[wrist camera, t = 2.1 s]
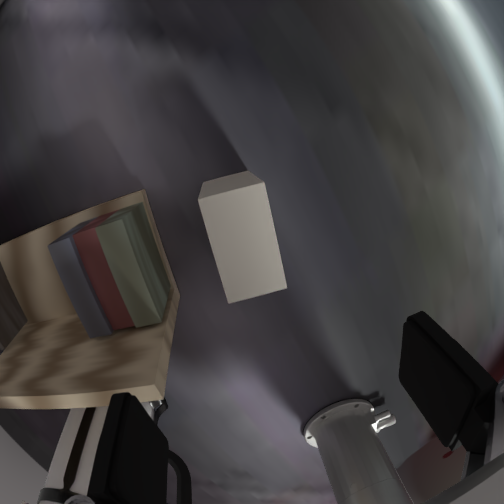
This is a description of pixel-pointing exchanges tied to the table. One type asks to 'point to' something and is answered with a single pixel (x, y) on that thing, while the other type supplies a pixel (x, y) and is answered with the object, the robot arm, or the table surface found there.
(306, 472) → the table surface
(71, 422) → the coffee press
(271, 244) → the boxed book
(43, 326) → the bookshelf
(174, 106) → the table surface
